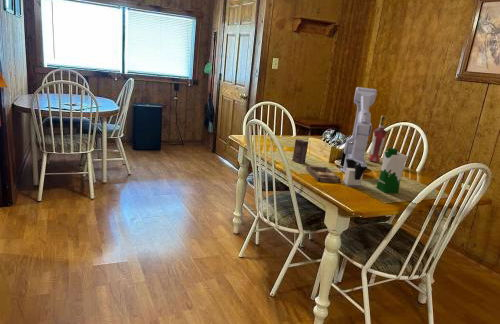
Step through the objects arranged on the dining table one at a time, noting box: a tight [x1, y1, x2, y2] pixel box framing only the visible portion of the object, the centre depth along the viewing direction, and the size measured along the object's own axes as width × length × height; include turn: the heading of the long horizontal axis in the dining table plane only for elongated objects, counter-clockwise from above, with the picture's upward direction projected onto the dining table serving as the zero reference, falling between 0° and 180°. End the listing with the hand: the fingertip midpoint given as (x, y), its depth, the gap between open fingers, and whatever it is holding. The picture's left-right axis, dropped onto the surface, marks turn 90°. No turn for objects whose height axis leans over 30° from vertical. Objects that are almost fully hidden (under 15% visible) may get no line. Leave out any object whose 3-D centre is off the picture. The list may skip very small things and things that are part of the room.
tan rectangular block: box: [316, 171, 337, 178], centre depth 175 cm, size 8×4×3 cm, turn 96°
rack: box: [305, 165, 342, 184], centre depth 180 cm, size 11×18×2 cm, turn 10°
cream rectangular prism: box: [342, 168, 365, 185], centre depth 171 cm, size 7×4×7 cm, turn 100°
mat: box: [340, 180, 364, 188], centre depth 172 cm, size 8×7×1 cm
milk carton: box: [375, 147, 409, 194], centre depth 167 cm, size 9×9×20 cm
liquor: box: [368, 115, 387, 163], centre depth 219 cm, size 7×7×28 cm
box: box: [292, 138, 309, 164], centre depth 199 cm, size 6×4×12 cm
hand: (353, 176), depth 171 cm, fingers open, 7 cm apart
